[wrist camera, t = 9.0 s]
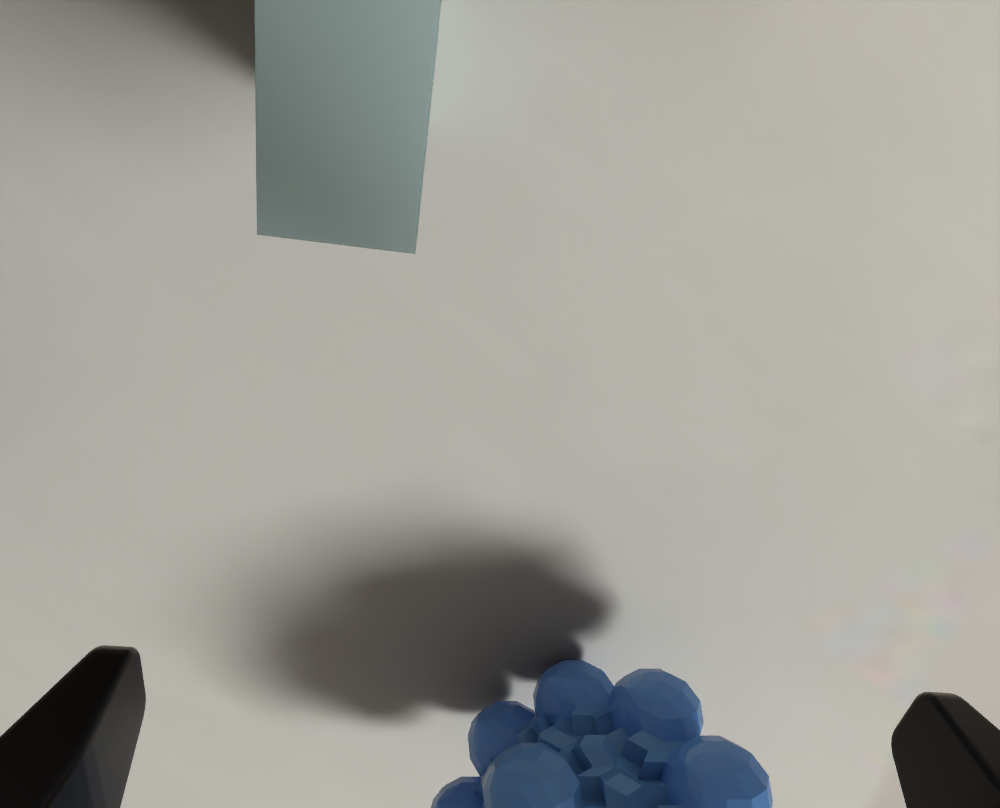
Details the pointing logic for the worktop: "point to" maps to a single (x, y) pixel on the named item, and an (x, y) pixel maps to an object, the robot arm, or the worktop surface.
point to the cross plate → (343, 118)
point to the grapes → (604, 749)
